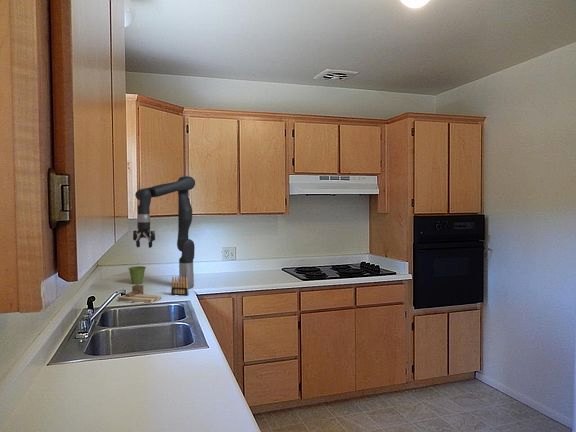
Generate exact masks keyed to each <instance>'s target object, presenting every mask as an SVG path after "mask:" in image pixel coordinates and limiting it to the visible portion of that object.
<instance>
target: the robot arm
mask: <svg viewBox="0 0 576 432" xmlns="http://www.w3.org/2000/svg"><path fill="white" fill-rule="evenodd" d="M195 186H196V180H195V179H194V177H192V176H189V175H188V176H180V177H178V179H177V181H172V182H168V183H162V184H158V185H154V186H151V187H146V188H144V187H143V188H140V189H138V190H137V191H136V192H135V195H134V196H135V198H136V199H137V200H138V201H139V204H138V205H137V220H136V221H137V224H136V226H137V227H136V230H133V233H132V240H133V241H135V245H136V248H140V247H141V239H143V238H144V239H147V241H148V248H149V249H150V248H153V242H154V241H156V231H155V230H151V215H150V213H151V212H150V205H151V202H152V198H158V197H162V196H166V195H169V194H173V193H175V192H177V196H178V199H177V200H178V202H177V203H178V208H177V209H178V211H177V215H178V219H177V220H178V221H177V222H178V223H177V224H178V225H177V226H178V229H177V241H176V246H177V249H178V251H179V252H181V257H179V260H178V264H179V265H178V268H179V271H178V273H179V275H178V276H179V281H180V278H181V277H182V283H183V277H184V278H185V281H186V277H187V281H188V290H190V289H193V288H194V287H195V282H194V281H195V274H194V259H195V249H196V247H195V243H194V240H192V239H190V238H189V230H190V226H191V224H192V220H193V208H192V204H191V201H190V199H189V191H190V190H192V189H194V188H195Z"/></svg>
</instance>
